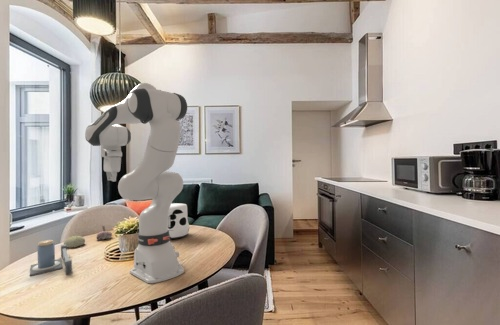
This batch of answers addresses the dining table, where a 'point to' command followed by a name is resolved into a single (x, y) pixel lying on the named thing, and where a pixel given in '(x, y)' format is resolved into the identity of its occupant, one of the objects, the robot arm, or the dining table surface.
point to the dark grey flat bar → (66, 260)
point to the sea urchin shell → (74, 241)
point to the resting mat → (35, 269)
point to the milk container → (178, 221)
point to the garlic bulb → (104, 234)
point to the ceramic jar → (46, 253)
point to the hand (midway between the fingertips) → (111, 180)
